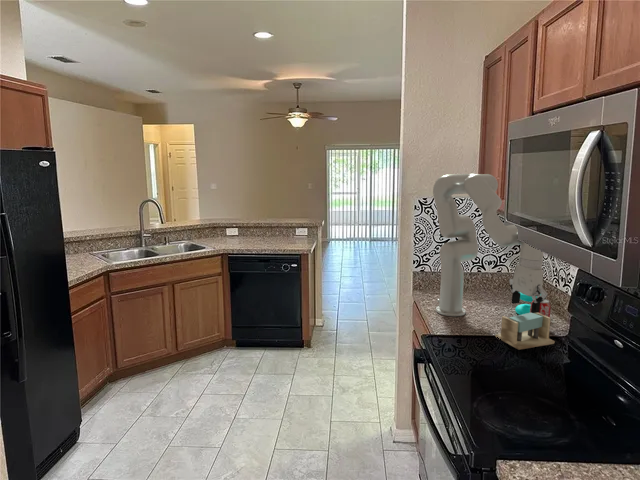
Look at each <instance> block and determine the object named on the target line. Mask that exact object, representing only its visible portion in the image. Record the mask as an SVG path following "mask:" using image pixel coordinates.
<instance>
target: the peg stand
mask: <svg viewBox="0 0 640 480" xmlns="http://www.w3.org/2000/svg"><path fill="white" fill-rule="evenodd" d="M534 314H537V315H540V316H543V321H542V327H539V328H535V329H532V330H528V331H524V332H520V333H519V332H518V322H516V321H513V320H511V319H509V317H507V316H505V315H504V316H503V315H502V316H501V326H500V327H501V328H500V329H501V330H500V333H497V334H495V338H497V337H498V338H499V339H498V338H497V339H498V340H500V339H501V340H500V341H502V342H503V343H506V344H508V345H509V346H511V347H513V348H514V349H517V350H525V349H531V348H535V347H543V346H549V345H554V344H555V342H556V341H555V340H553V339H551V338H550V328H551V319H552V318H551V317H547V316H545V315H542V314H540V313H534Z"/></svg>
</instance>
